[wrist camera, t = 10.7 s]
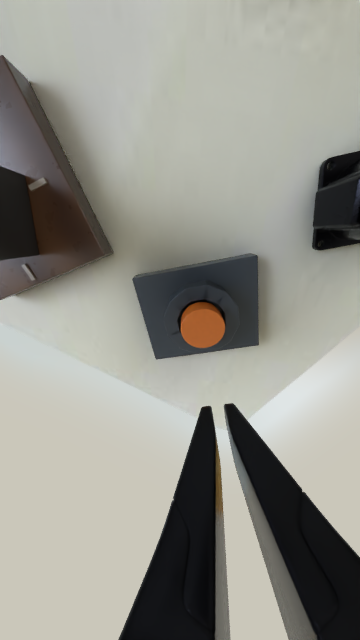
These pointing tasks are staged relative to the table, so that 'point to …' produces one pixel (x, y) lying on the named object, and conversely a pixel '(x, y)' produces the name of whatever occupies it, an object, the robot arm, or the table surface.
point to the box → (15, 217)
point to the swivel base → (43, 191)
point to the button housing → (201, 286)
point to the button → (202, 325)
